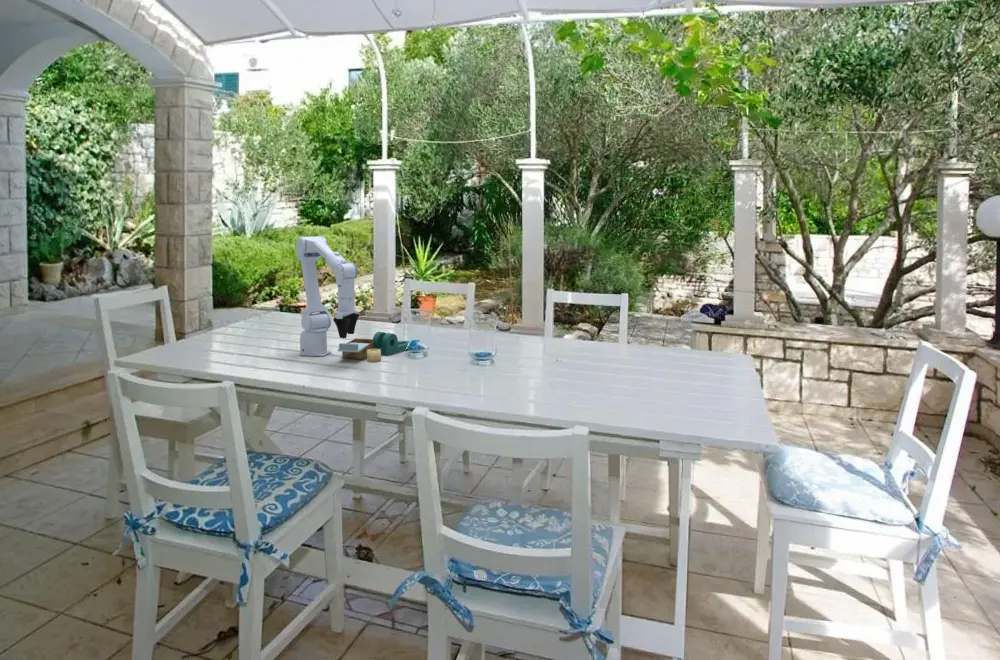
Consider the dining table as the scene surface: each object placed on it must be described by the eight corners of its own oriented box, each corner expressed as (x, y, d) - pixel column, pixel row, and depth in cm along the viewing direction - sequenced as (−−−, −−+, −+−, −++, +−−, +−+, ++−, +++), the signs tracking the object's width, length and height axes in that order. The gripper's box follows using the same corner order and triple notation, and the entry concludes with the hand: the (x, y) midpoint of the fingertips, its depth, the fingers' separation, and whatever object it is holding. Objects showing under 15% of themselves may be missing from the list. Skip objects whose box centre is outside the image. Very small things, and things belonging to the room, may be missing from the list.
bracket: (386, 355, 279) (386, 335, 277) (372, 353, 282) (372, 333, 280) (415, 348, 294) (415, 328, 293) (401, 345, 297) (401, 326, 296)
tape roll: (365, 361, 269) (364, 350, 268) (369, 358, 274) (369, 347, 273) (378, 362, 268) (378, 351, 267) (382, 359, 273) (382, 348, 272)
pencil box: (342, 358, 274) (342, 345, 273) (355, 350, 287) (355, 338, 287) (365, 359, 272) (365, 346, 272) (378, 351, 286) (378, 339, 285)
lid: (337, 351, 267) (337, 343, 267) (350, 344, 280) (350, 337, 279) (358, 352, 266) (358, 345, 265) (370, 345, 278) (370, 338, 278)
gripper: (349, 301, 252) (350, 340, 254) (364, 295, 266) (364, 332, 268) (330, 300, 253) (330, 339, 255) (345, 294, 267) (346, 331, 269)
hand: (346, 335), depth 262 cm, fingers open, 7 cm apart
